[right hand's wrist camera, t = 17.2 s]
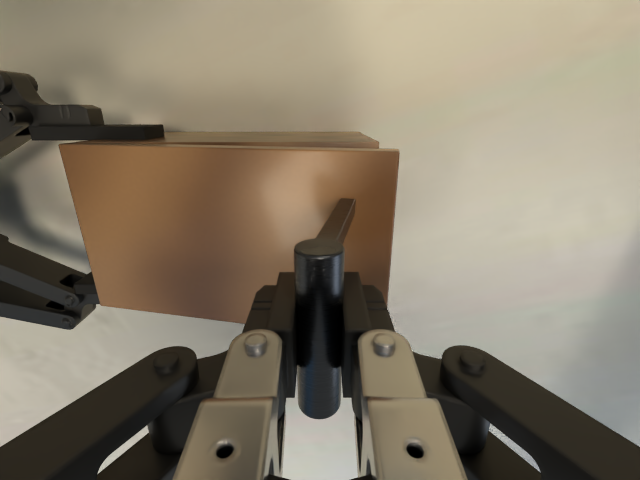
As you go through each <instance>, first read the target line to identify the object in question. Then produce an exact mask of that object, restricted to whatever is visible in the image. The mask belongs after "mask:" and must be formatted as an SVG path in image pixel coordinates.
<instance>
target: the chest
mask: <svg viewBox="0 0 640 480" xmlns="http://www.w3.org/2000/svg"><path fill="white" fill-rule="evenodd" d="M164 135H165V136H164V137H158V138H152V139H147V140H88V141H80V142H84V143H132V144H180V145H228V146H275V147H323V148H371V149H379V142H378V141H376V140H374V139H372V138H370V137H368V136H366V135H364V134H362V133H360V132H164Z"/></svg>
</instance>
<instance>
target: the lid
mask: <svg viewBox="0 0 640 480" xmlns="http://www.w3.org/2000/svg"><path fill="white" fill-rule="evenodd" d="M59 149H60V153H61V156H62V160H63V164H64V168H65V172H66V175H67V179H68V183H69V187H70V191H71V194H72V198H73V202H74V206H75V210H76V213H77V217H78V221H79V225H80V229H81V232H82V236H83V240H84V244H85V248H86V252H87V255H88V259H89V263H90V267H91V271H92V274H93V278H94V282H95V286H96V290H97V293H98V297H99V301H100V305H101V306H108V307H116V308H124V309H132V310H140V311H148V312H156V313H164V314H172V315H180V316H187V317H195V318H203V319H211V320H219V321H227V322H235V323H243V324H245V323H246V321H247V318H248V315H249V312H250V310H251V306H252V303H253V300H254V298H255V295H256V292H257V291H259V290H260V289H261V288H262V287H263V286H264V285H276V284H277V280H278V276H279V272H294V277H295V302H296V334H297V379H298V404H299V407H300V409H301V411H302V412H303V413H304V414H305V415H307V416H308V417H310V418H314V419H325V418H328V417H330V416H332V415H334V414H335V413H336V412H337V410H338V409H339V407H340V401H341V338H342V304H343V293H344V272H359V275H360V280H361V284H362V285H374V286H375V287H376V288H377V289H379V290H380V291H381V292H382V294H383V297H384V300H385V303H386V306H387V302H388V290H389V277H390V265H391V253H392V240H393V228H394V215H395V203H396V191H397V178H398V166H399V149H371V148H323V147H275V146H228V145H180V144H132V143H84V142H75V143H64V144H59Z"/></svg>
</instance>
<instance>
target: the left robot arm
mask: <svg viewBox="0 0 640 480" xmlns="http://www.w3.org/2000/svg"><path fill="white" fill-rule="evenodd" d="M37 90H38V85H37V82H36V81H35V79H34V78H33V77H32V76H30V75H28V74H24V73H16V72H8V71H0V104H4V105H0V108H2V110H1V111H0V159H1V158H3V157H4V156H6V155H7V154H9V153H10V152H12V151H13V150H15V149H16V148H18V147H19V146H21V145H22V144H24V143H26V142H27V141H29V140H30V139H32V140H147V139H152V138H158V137H164V136H165V135H164V129H163V125H104V120H103V116H102V111H101V109H100V108H98V107H95V106H93V105H50V104H47V103H46V102H44V101H43V100H42V99H41V98H40V97H39V95H38V93H37ZM96 304H100V301H99V297H98V293H97V290H96V286H95V282H94V278H93V274H92V271H91V272H90V273H89V274H87V275H86V274H84V273H82V272H79V271H77V270H74V269H72V268H70V267H67V266H65V265H62V264H60V263H58V262H55V261H53V260H50V259H48V258H46V257H43V256H41V255H38V254H36V253H34V252H31V251H29V250H26V249H24V248H22V247H19V246H17V245H14V244H12V243H10V242H8V237H6V236H4V235H2V234H0V317H6V318H11V319H16V320H21V321H26V322H31V323H36V324H42V325H47V326H52V327H57V328H62V329H69V330H70V329H73V328H74V327H76V326H77V325H78V324H79V323H80V322H81V321H82V320H83V319H85V318H86V317H87V316H88V315H89V314H90V313H91V312H92V311H93V310H94V309H95V308H96Z"/></svg>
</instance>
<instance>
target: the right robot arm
mask: <svg viewBox="0 0 640 480" xmlns="http://www.w3.org/2000/svg"><path fill="white" fill-rule="evenodd" d="M296 375H297V334H296V302H295V277H294V272H279V276H278V280H277V284H276V285H264V286H263V287H262V288H261V289H260V290H259V291H257V292H256V295H255V298H254V300H253V303H252V306H251V310H250V312H249V315H248V318H247V321H246V323H245V326H244V329H243V332H242V334H240V335H238V336H237V337H236V338H235V339H234V340H233V341H232V342H231V344H230V346H229V350H227V351H225V352H223V353H220V354H218V355H214V356H210V357H205V358H201V359H197V357H196V354H195V352H194V351H193V350H191V349H189V348H187V347H181V346H174V347H168V348H164V349H161V350H158V351H156V352H154V353H152V354H150V355H148V356H147V357H145V358H144V359H142V360H140V361H139V362H137V363H135V364H134V365H132V366H131V367H129V368H127V369H126V370H124V371H123V372H121V373H119V374H118V375H116V376H114V377H113V378H111V379H110V380H108V381H106V382H105V383H103V384H101V385H100V386H98V387H97V388H95V389H93V390H92V391H90V392H89V393H87V394H85V395H84V396H82V397H80V398H79V399H77V400H76V401H74V402H72V403H71V404H69V405H68V406H66V407H64V408H63V409H61V410H59V411H58V412H56V413H55V414H53V415H51V416H50V417H48V418H46V419H45V420H43V421H42V422H40V423H38V424H37V425H35V426H34V427H32V428H30V429H29V430H27V431H25V432H24V433H22V434H21V435H19V436H17V437H16V438H14V439H13V440H11V441H9V442H8V443H6V444H4V445H3V446H1V447H0V480H289V479H286V478H282V470H283V455H284V441H285V426H286V415H285V403H286V398H295V386H296ZM341 375H342V388H343V398H352V407H353V411H354V413H355V414H354V426H355V441H356V456H357V471H358V478H354V479H351V480H640V447H639V446H637V445H636V444H634V443H632V442H631V441H629V440H627V439H626V438H624V437H623V436H621V435H619V434H618V433H616V432H615V431H613V430H611V429H610V428H608V427H606V426H605V425H603V424H602V423H600V422H598V421H597V420H595V419H594V418H592V417H590V416H589V415H587V414H585V413H584V412H582V411H581V410H579V409H577V408H576V407H574V406H572V405H571V404H569V403H568V402H566V401H564V400H563V399H561V398H560V397H558V396H556V395H555V394H553V393H551V392H550V391H548V390H547V389H545V388H543V387H542V386H540V385H538V384H537V383H535V382H534V381H532V380H530V379H529V378H527V377H526V376H524V375H522V374H521V373H519V372H517V371H516V370H514V369H513V368H511V367H509V366H508V365H506V364H505V363H503V362H501V361H500V360H498V359H496V358H495V357H493V356H492V355H490V354H488V353H486V352H485V351H483V350H480V349H477V348H474V347H470V346H453V347H450V348H448V349H446V350H445V351H444V353H443V355H442V359H437V358H433V357H428V356H424V355H420V354H417V353H415V352H413V351H412V350H411V347H410V344H409V342H408V341H407V340H406V339H405V338H404V337H403V336H402V335H400V334H398V333H396V332H395V330H394V327H393V324H392V321H391V318H390V315H389V312H388V310H387V306H386V303H385V300H384V297H383V294H382V292H381V291H380V290H379V289H377V288H376V287H375V286H374V285H362V284H361V280H360V275H359V272H344V293H343V304H342V338H341ZM490 423H491V424H492V425H494V426H495V427H496V428H497V429H499V430H500V431H501V432H502V433H504V434H505V435H506V436H507V437H509V438H510V439H511V440H512V441H514V442H515V443H516V444H518V445H519V446H520V447H521V448H523V449H524V450H525V451H526V452H528V453H529V454H530V455H531V456H532V457H533V459H534V460H535V461H536V463H537V464H538V466H539V469H540V471H541V473H540V472H539V471H538V470H536V469H535V468H534V467H533V466H531V465H530V464H529V463H528V462H527V461H525V460H524V459H523V458H522V457H520V456H519V455H518V454H517V453H516V452H514V451H513V450H512V449H511V448H509V447H508V446H507V445H506V444H504V443H503V442H502V441H501V440H500V439H498V438H497V437H496V436H495V435H493V434H492V433H491V432H490V431H488V430H489V426H490ZM146 425H147V426H148V430H149V433H148V434H147V435H145V436H144V437H143V438H142V439H140V440H139V441H138V442H137V443H136V444H134V445H133V446H132V447H131V448H129V449H128V450H127V451H126V452H124V453H123V454H122V455H121V456H120V457H118V458H117V459H116V460H115V461H113V462H112V463H111V464H110V465H108V466H107V467H106V468H105V469H104V470H102V471H101V472H100V473H99V474H97V473H98V470H99V468H100V466H101V464H102V463H103V462H104V460H105V459H106V458H107V457H108V456H109V455H110V454H111V453H112V452H114V451H115V450H116V449H117V448H119V447H120V446H121V445H122V444H124V443H125V442H126V441H127V440H129V439H130V438H131V437H133V436H134V435H135V434H136V433H138V432H139V431H140V430H141V429H143V428H144V427H145V426H146Z"/></svg>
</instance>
